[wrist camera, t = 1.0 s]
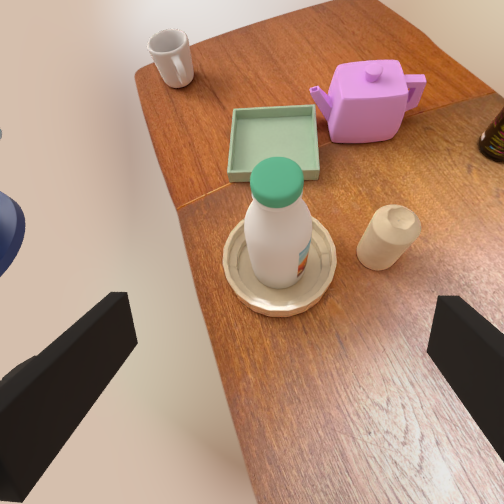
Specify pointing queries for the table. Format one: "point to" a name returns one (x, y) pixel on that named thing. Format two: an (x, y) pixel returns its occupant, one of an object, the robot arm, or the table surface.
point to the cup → (172, 57)
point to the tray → (273, 139)
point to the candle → (388, 236)
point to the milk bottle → (278, 223)
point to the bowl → (284, 299)
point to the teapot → (368, 100)
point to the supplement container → (493, 139)
